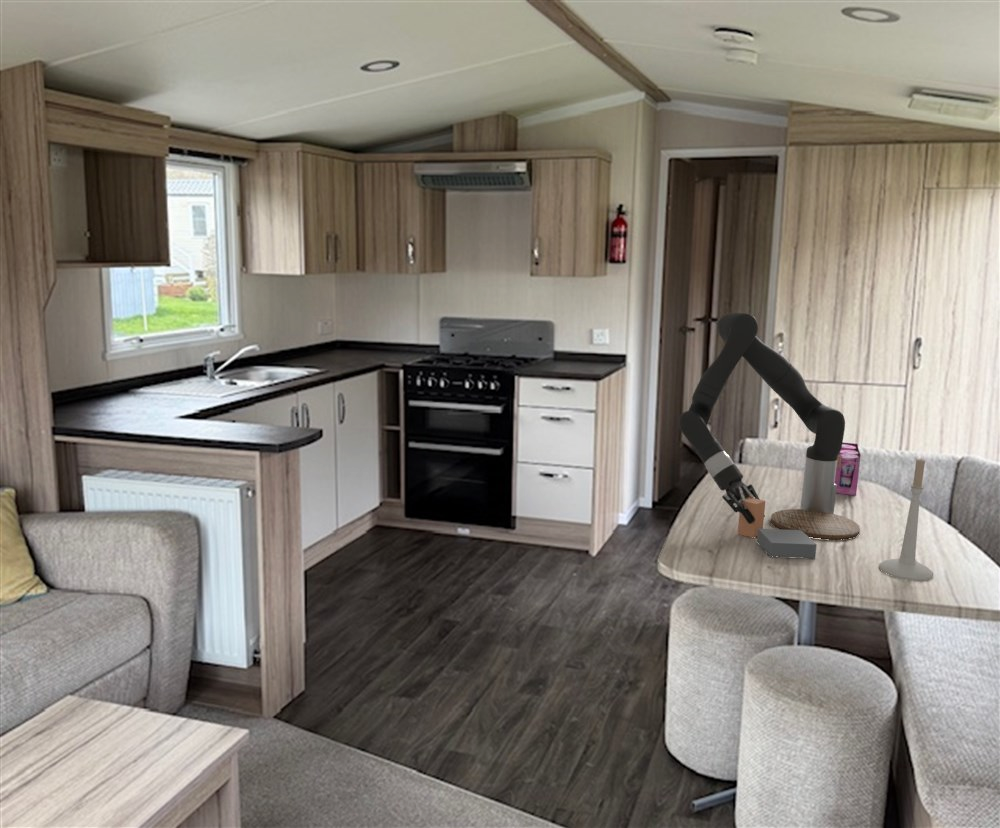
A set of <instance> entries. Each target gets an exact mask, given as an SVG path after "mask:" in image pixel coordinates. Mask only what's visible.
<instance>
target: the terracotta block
mask: <svg viewBox="0 0 1000 828" xmlns="http://www.w3.org/2000/svg"><path fill="white" fill-rule="evenodd" d="M745 499H746V501H744V503H745V504H746V506H747V509H749V511H750V512H751V514H752V515H753V517H754V518H755V521H754V522H752V523H751V524H749V523H748V522H747V521H746V519H745V518H744V516H743V515H742V513H739V512H738V513H739V515H738V525H737V533H738V534H737V535H739V534H742V535H741V536H743V535H746V536H749V537H748V538H750V537H753V538H752V539H755V538H754V537H756V536H758V529H764V520H765V519H764V518H765V517H764V515H765V510H766V500H763V499H760V498H759V499H760V500H759V499H755V497H754V498H750V497H748V498H745ZM741 505H742V503H741ZM746 536H745V537H746ZM756 538H757V537H756Z"/></svg>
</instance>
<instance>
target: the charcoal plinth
mask: <svg viewBox="0 0 1000 828" xmlns="http://www.w3.org/2000/svg"><path fill="white" fill-rule="evenodd" d="M756 538H757V539H756V543H757V542H758V543H759V544H760V545H759V544H758V543H757V544H758V545H759V547H760V546H761V547H762V548H763V549H764V550H765V551H766V552H767V553H766V552H765V551H764V550H763V549H762V548H761V547H760V548H761V549H762V550H763V551H764V552H765V553H766V554H768V555H769V556H770V557H769V556H768V555H767V556H768V557H769V558H777V557H776V556H778V557H803V558H815V559H816V554H817V545H818V544H817V543H816V542H815V541H814V540H813V539H812V538H809V537H808V536H807V535H806V534H805V533H804V532H803V531H802V530H782V529H777V528H775V529H774V528H763V529H758V536H757V537H756ZM772 556H773V557H772ZM803 558H802V559H803Z"/></svg>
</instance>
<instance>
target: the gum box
mask: <svg viewBox="0 0 1000 828" xmlns="http://www.w3.org/2000/svg"><path fill="white" fill-rule="evenodd" d="M861 457H862V455H861V452H860V449H859V444H858V443H851V442H842V448H841V451H840V453H839V454H838V458H837V466H836V475H835V484H836V485H837V489H836V494H841V495H851V496H857V490H858V483H859V473H860V464H861Z"/></svg>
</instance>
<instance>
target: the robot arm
mask: <svg viewBox="0 0 1000 828" xmlns="http://www.w3.org/2000/svg"><path fill="white" fill-rule="evenodd" d="M717 332H718V334H719V336H720V338H721V339H722V340H723V342H725V344H724V346H723V348H722V350H721V351H720V353H719V354H718V356H717V357H716V359H715V360H714V361H713V362H712V363H711V364H710V366H708V367H707V369H706V371H705V372H704V373H703V374H702V376H701V378H700V380H699V382H698V383H697V386H696V387H695V390H694V391H693V395H692V397H691V404H690V407H689V408H688V410H686V411H684V412H682V413H681V414H680V416H679V418H678V421H677V422H678V423H677V425H678V428H679V430H680V431H681V433H682V434H683V435H684V436H685V438H686V439H687V441H688V442H689V443H690V444H691V446H692V447H693V448H694V450H695V452H696V454H697V455H698V457H699V459H700V460H701V461H702V463H703V464H704V466H705V468H706V471H707V472H708V473H709V475H710V477H711V478H712V479H713V481H714V482H715V484H716V485H717V487H718V488H719V490H721V491H725V492H726V493H724V494H723V495H722V496H721V498H722V499H723V500H724V501H725V502H726V504H728V506H729V508H731V509H732V510H733V512H735V513H742V515H743V516H744V518H745V519H746V521H747V522H748V523H749V524H751V523H752V522H754V521H755V518H754V517H753V515H752V514H751V512H750V511H749V509H747V506H746V504H745V503H744V501H746V499H745V498H748V497H750V498H755V499H759V500H761V499H760V497H759V496H758V495H759V494H758V493H757V492H756V489H755V488H754V486H753V485H752V484H749V485H746V484H745V483H744V482H743V481H742V480H743V478H744V475H743V473H742V472H741V471H740V469H739V467H738V466H737V465H736V463H735V462H734V461H733V459H732V458H731V456H730V455H729V454H728V453H727V452H726V451H725V449H724V447H723V446H722V444H721V443H720V442H719V441H718V439H717V438H716V437H715V436H714V435H713V434H712V433H711V431H710V429H709V427H708V426H707V425H708V424H709V420H710V418H711V415H712V412H713V409H714V406H715V405H716V403H717V401H718V399H719V398H720V395H721V393H722V392H723V389H724V387H725V385H726V383H727V381H728V380H729V377H730V376H731V374H732V373H733V371H734V370H735V369H736V366H737V364H739V362H740V360H741V359H742V358H744V359H745V361H746V362H747V363H748V364H749V365H750V366H751V367H752V369H753V370H754V371H755V372H756V373H757V374H758V375H759V376H760V378H761V379H762V380H763V381H764V382H765V383H766V384H767V385H768V386H769V388H770V389H772V391H774V393H775V394H777V395H778V396H779V397H780V399H782V400H783V401H784V402H785V403H786V404H787V405H788V406H789V407H791V408H792V410H793V411H794V412H795V413H796V415H797V416H798V418H799V419H800V420H801V422H802V423H803V424H804V426H805V427H806V428H807V429H808V430H809V431H810V432H811V433H812V434H815V437H814V442H813V444H812V445H811V446H807V448H806V452H805V460H804V461H805V462H804V472H803V481H802V489H801V498H800V499H801V500H800V507H799V509H803V510H814V511H821V512H827V513H832V514H835V513H834V512H835V504H836V496H837V495H836V494H837V493H836V489H837V485H836V484H835V475H836V466H837V458H838V454H839V453H840V451H841V448H842V442H843V441H844V437H845V429H846V420H845V419H846V418H845V416H844V414H843V412H841V411H840V410H838V409H835V408H832V407H829V406H828V405H825V404H823V403H822V402H821V401H820V400H819V399H818V398H817V397H816V396H814V395H813V394H812V393H811V391H810V390H809V389H808V387H807V385H806V383H805V382H806V381H805V380H804V378H803V376H802V374H801V372H799V370H798V369H797V368H796V367H795V366H794V365H793V364H792V363H791V362H790V360H788V359H787V358H786V357H785V356H784V355H782V354H781V353H780V352H779V351H776V350H775V349H773V348H772V347H771V346H769V345H767V344H765V342H763V341H761V339H759V337H758V336H757V335H758V333H759V324H758V321H757V319H756V317H755V316H753V314H751V313H747V312H730V313H729V312H728V313H726V314H724V315H723V316H721V317H720V319H719V320H718V323H717ZM843 443H844V442H843ZM741 503H742V505H741ZM765 517H766V515H765V514H764V518H765Z"/></svg>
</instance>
